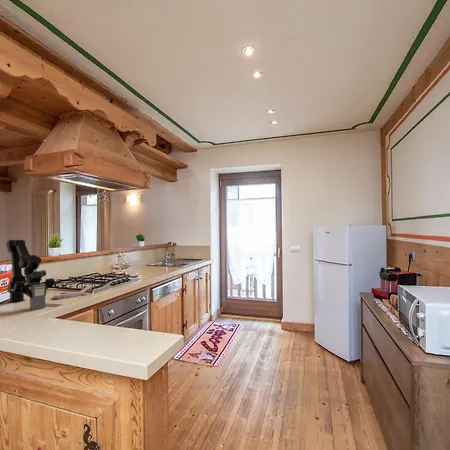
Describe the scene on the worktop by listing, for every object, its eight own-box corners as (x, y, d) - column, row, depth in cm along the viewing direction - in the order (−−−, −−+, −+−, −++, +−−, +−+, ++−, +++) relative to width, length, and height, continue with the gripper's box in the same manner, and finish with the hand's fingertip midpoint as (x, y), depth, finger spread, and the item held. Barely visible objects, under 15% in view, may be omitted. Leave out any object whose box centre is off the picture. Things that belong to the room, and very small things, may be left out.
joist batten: (38, 305, 155) (38, 305, 155) (45, 303, 159) (45, 303, 159) (55, 306, 152) (55, 306, 152) (62, 304, 156) (62, 303, 156)
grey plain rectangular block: (29, 309, 146) (30, 285, 147) (42, 307, 151) (42, 283, 152) (32, 310, 144) (33, 286, 145) (45, 308, 149) (45, 284, 150)
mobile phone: (93, 285, 188) (53, 291, 169) (93, 294, 188) (53, 300, 169) (89, 285, 192) (50, 290, 173) (89, 293, 192) (49, 299, 172)
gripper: (15, 267, 144) (22, 290, 137) (53, 264, 159) (61, 284, 152) (10, 281, 148) (16, 303, 141) (48, 277, 163) (55, 297, 156)
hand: (38, 296), depth 147 cm, fingers closed on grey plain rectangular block, 6 cm apart
